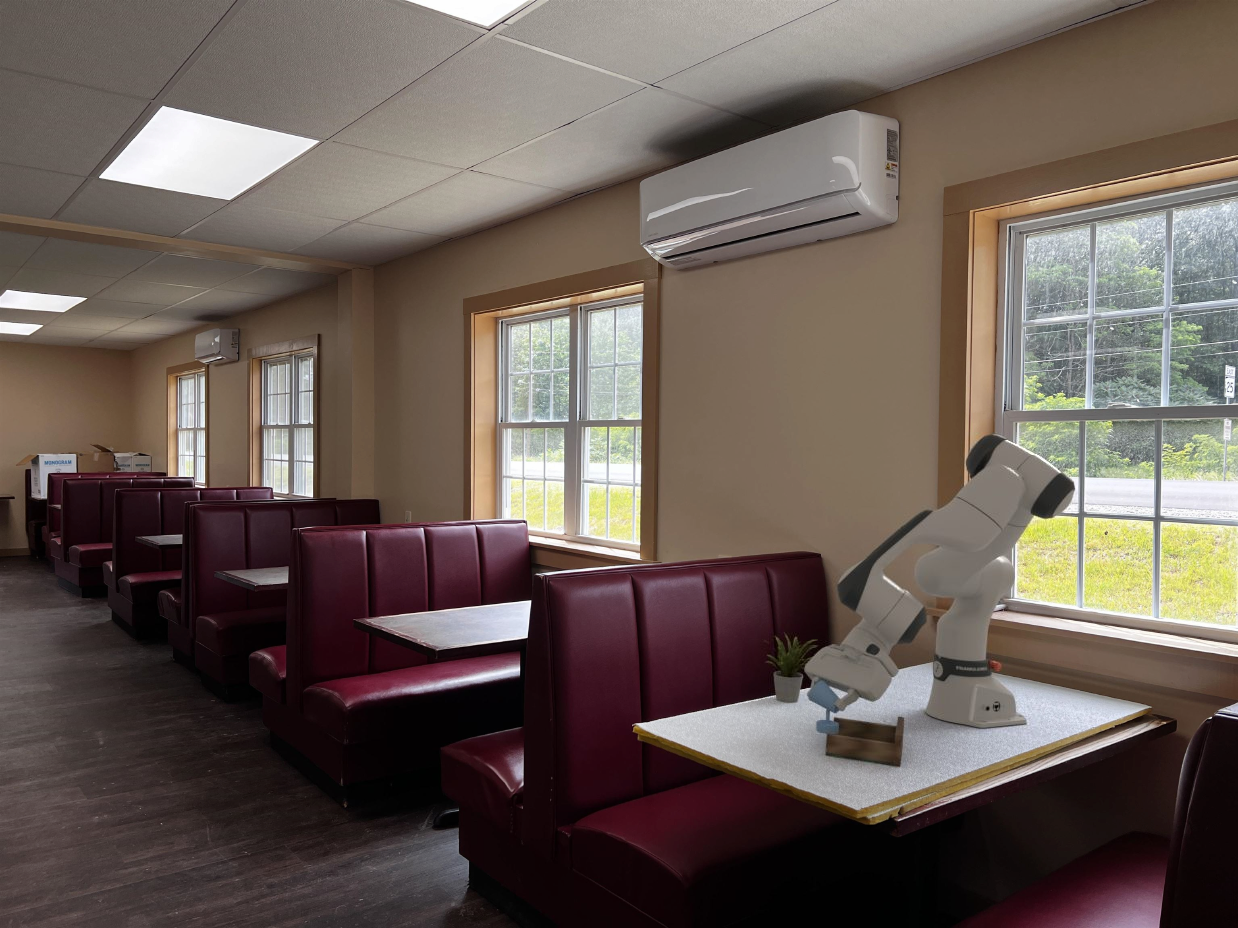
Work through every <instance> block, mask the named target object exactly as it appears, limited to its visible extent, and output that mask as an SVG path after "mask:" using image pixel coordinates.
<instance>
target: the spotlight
mask: <svg viewBox="0 0 1238 928" xmlns="http://www.w3.org/2000/svg"><path fill="white" fill-rule="evenodd" d="M810 689H811V688H810ZM807 697H808V700H809V701H811V702H813V704H816V705H817V706H820V707H821V708H824V709H826V711H825V719H820V720H817V721H816V723H815V724H816V725H815V726H816V727H815V728H816V729H815V731H816V732H818V733H820V734H824V735H827V733H828V734H837V733H839V723H837V722H835V721H834V720H831V719H830V717H831V715H830V714H831V713H833V714H838V713H839V712H840V710H837V709H836V708H835V707H834V703H835V702H836V700H837V699H838V698H839V699H841V698H840V697H839V696H838V695H837V694H836V693H835V691H833V689H832V687H829V686H828V685H827V684H826V683H825V682H824V681H823V680H821V681H819V682H818V683H816V684H815V685H814V687H813V688H812V689H811V691H810V693H809V696H807Z"/></svg>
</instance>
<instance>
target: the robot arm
mask: <svg viewBox="0 0 1238 928" xmlns="http://www.w3.org/2000/svg"><path fill="white" fill-rule="evenodd" d="M965 467H966V471H967V472H968V474H969V478H970V480H969V481H967V483H966V484H965V485H964V486H963V487H961V489H960V490H959V491H958V493H957V494H956V495H955V496H954V498H953V499H952V500H951V501H949V502H948V503H947V504H946V505H944V506H942V507H941V508H938V509H935V510H932V509H925V510H923V511H920V512H919V513H918V514H916V515H915V516H913V517H911V519H910V520H908V521H907V522H906V523H904V524H903V525H902V526H901V527H900V528H898V529H897V530H896V531H895V532H893V533H892V534H891V535H890V536H889V537H888V538H886V540H884V541H883V542H882V543H881V544H880V545H879V546H877V547H876V548H875V549H874V550H873V551H871V553H869V555H868V556H866V557H865V558H864V559H862V560H861V561H859V562H857V563H855V564H854V565H853V566H851V567H849V568H848V569H847V570H846V571H845V572H844V573H843V574H842V575H841V577H840V578H839V581H838V582H837V584H836V591H837V595H838V599H839V602H840V604H842V605H844V606H845V607H847V608H848V609H850V610H851V611H852V612H855V613H857V614H858V615H859V616H861V617H862V619H861V620H860V622H858V624H856V625H855V626H854V627H853V628H852V630H851V631H850V632H848V634H847V636H846V637H845V638H844V639H843V641H842V642H841V643H840V645H837V644H835V643H834V644H829V645H828V646H825V647H822V648H821V649H820V650H818V651H817V652H816V653H815V654H814V656H811V657H812V658H811V657H810V658H811V659H809V660H808V661H807V662H806V663H807V664H806V663H805V664H806V665H805V666H804V668H805V669H804V673H805V674H806V675H807V676H808V678H809V679H810V680H811V684H810V688H809V690H808V691H807V693H806V696H807V697H808V696H809V693H810V691H811V689H812V688H813V687H814V685H815V684H816V683H818V682H819V681H821V680H823V681H824V682H825V683H826V684H827V685H828V686H829V687H830V688H831V689H832V688H833V689H835V690H839V691H840V692H844V693H846V694H845V695H844V696H843V697H841V698H840V697H839V698H840V699H839V698H838V699H837V700H836V702H835V703H834V707H835V708H836V709H837V710H839V712H844V711H845V710H846V708H847V707H848V706H850V705H852V704H854V703H856V702H858V700H859V698H860V699H863V700H865V701H869V702H871V703H874V702H876V701H878V700H880V699H881V697H882V696H883V695H884V694H885V692H886V691H887V690H888V689H889V687H890V686H891V684H892V681H893V679H892V678H894V677H896V676H897V675H898V674H899V672H900V670H899V669H898V666H897V665H896V663H895V662H894V661H893V659H892V658H891V657H890V656H889V655H890V653H891V649H892V648H893V646H894V645H907V644H911V643H913V641H914V640H915V638H916V637H917V635H918V634H919V632H920V630H921V629H922V627H923V626H924V625H926V624H927V622H928V618H927V617H928V616H927V615H928V614H927V610H926V606H925V605H923V604H922V602H920V601H919V600H918V598H916V597H914V595H913V593H911V592H910V591H908V590H907V589H904V588H902V587H901V586H900V585H898V584H897V583H896V582H894V581H893V580H892V579H890V578H889V577H888V576H887V575H886V574H885V573H884V569H885V568H886V566H888V565H889V564H890V563H891V562H892V561H894V560H895V559H896V558H898V556H900V555H901V554H902V553H903V552H904V551H905V550H907V548H909V547H911V546H912V545H914V544H920V543H921V544H923V543H924V544H929V545H930V544H931V545H934V546H937V548H935V549H934V550H930V551H929V552H926V553H925V554H923V555H921V556H920V557H919V558H918V560H917V561H916V563H915V566H914V573H913V575H914V580H915V583H916V586H917V587H918V588H919V590H920V591H921V592H923V593H924V594H926V595H930V596H932V597H937V598H942V599H953V603H952V604H951V605H950V608H949V609H948V610H947V612H945V613H944V614H942V615H941V616H940V617H939V619H938V620H937V622H936V623H937V624H936V640H935V651H934V653H933V659H932V675H933V676H932V677H933V678H932V685H931V690H930V695H929V699H928V702H927V705H926V707H925V710H924V712H925V713H926V714H927V715H929V716H930V717H933V718H935V719H939V720H940V721H941V720H942V721H945V722H950V723H953V724H954V723H955V724H960V725H967V726H971V727H974V728H979V729H980V728H981V729H986V728H993V727H994V728H995V727H1003V726H1012V725H1013V726H1014V725H1024V724H1027V723H1028V722H1027V718H1026V717H1025V716H1024V715H1023V714H1021V713H1019V712H1017V703H1016V699H1015V696H1014V694H1013V692H1011V690H1009V688H1008V687H1006V686H1005V685H1004V684H1002V683H1001V681H999V679H997V678H996V677H995V676H994V675H993V672H992V670H993V671H996V672H1000V671H1001V669H1002V667H1003V666H1002V664H1001V663H1000V662H999V661H995V660H992V661H991V660H989V659H988V658H986V657H987V647H988V645H987V644H988V632H989V627H990V622H991V619H992V617H993V614H994V612H995V609H996V606H998V603H999V602H1000V601H1001V599H1002V598H1003V597H1004V596H1005V594H1008V592H1009V591H1010V590H1011V589H1012V588H1013V585H1014V583H1015V579H1016V576H1015V575H1016V573H1015V568H1014V566H1013V564H1012V562H1011V561H1010V559H1008V558H1007V557H1006V556H1005V555H1006V554H1008V553H1009V552H1010V551H1011V550H1013V548H1014V547H1015V546H1016V544H1017V543H1018V541H1019V540H1020V538H1021V536H1022V535H1023V534H1024V532H1025V531H1026V529H1027V528H1028V527H1029V524H1030V523H1031V521H1032V520H1033V519H1034V517H1037V518H1038V519H1043V520H1046V519H1047V520H1049V519H1053V518H1055V517H1056V516H1058V515H1060V514H1061V513H1063V512H1065V510H1066V509H1067V508H1068V507H1069V505H1070V504H1071V503H1072V500H1073V498H1074V494H1075V491H1076V486H1075V481H1074V480H1073V479H1072V478H1071V477H1070V476H1069V475H1068V474H1067V473H1065V471H1060V470H1059V469H1058V468H1057V467H1055V466H1054V465H1052V464H1051V462H1049V461H1047V460H1046V459H1045V458H1043V457H1042V456H1040V455H1038V454H1036V453H1033V452H1032V451H1030V450H1028V449H1026V448H1024V447H1022V446H1021V445H1019V444H1016V443H1014V442H1012V441H1009V440H1008V438H1007V437H1004V436H1002V435H999V434H995V433H991V434H990V433H989V434H987V435H984V436H983V437H981V438H980V439H978V440H977V441H976V442H975V443H974V444H973V445H972V447H971V448H970V450H969V451H968V454H967V457H966V460H965Z"/></svg>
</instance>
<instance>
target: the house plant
mask: <svg viewBox="0 0 1238 928" xmlns="http://www.w3.org/2000/svg"><path fill="white" fill-rule="evenodd" d="M783 634H784V636H785V638H786V640H787V646H788V651H787V652H786V648H785V645H784V644H783V642H782V641H781V640H780V639H779V637H777V636H776V635H774V637H775V640H776V642H777V645H778V646H777V648H778V652H777V649H774V650H775V652H776V653H777V658H776V657H774V656H772V655H771V654H766V656H767V657H769V658H770V659H771V660H772V661H774V662H775V663H774V662H772V661H769V660H767V661H765V663H768V664H771V665H772V666H775V668H776V669H777V670H778V671H774V672H773V682H774V690H775V691H774V692H775V699H776V701H779V702H782V703H788V704H790V703H791V704H793V703H794V704H795V703H798V701H799V697H800V692H801V687H802V685H803V683H802V682H803V680H804V679H803V678H804V675H803V674H802V673H801V672H799V670H800V669H802V670H805V666H806V664H807V663H808V662H809V661H810V660H811V658H812V657H813V656H811V657H807V658H806V659H804V657H805V655H806V654H807V653H808V652H809V651H811V649H813V648H815V647H818V645H815V644H813V645H810V644H811V643H812V642H815V641H817V639H811V640H808V641H806V642H804V644H800V645H799V643H800V641H798V636H795V637H794V638H793V643H792V645H791V641H790V639H789V637H788V635H787V634H786V633H785V632H783ZM763 641H764V642H767V641H766V640H765V639H764V640H763ZM767 643H768V642H767ZM808 645H809V646H808ZM801 655H802V656H801ZM802 661H803V662H802ZM804 665H805V666H804ZM779 668H780V670H779Z"/></svg>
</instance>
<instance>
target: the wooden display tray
mask: <svg viewBox="0 0 1238 928" xmlns="http://www.w3.org/2000/svg"><path fill="white" fill-rule="evenodd" d="M833 721H835V722H837V723H839V733H837V734H828V733H827V734H826V743H825V744H826V745H825V756H827V757H828V756H829V757H834V758H840V759H847V760H852V761H859V762H865V763H871V764H878V765H886V766H891V767H897V768H901V764H902V756H903V755H902V754H903V748H904V731H905V730H904V727H905V717H904V716H897V722H896V725H892V724H885V723H878V722H871V721H864V720H857V719H850V718H845V717H844V718H843V717H835V716H833Z"/></svg>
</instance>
